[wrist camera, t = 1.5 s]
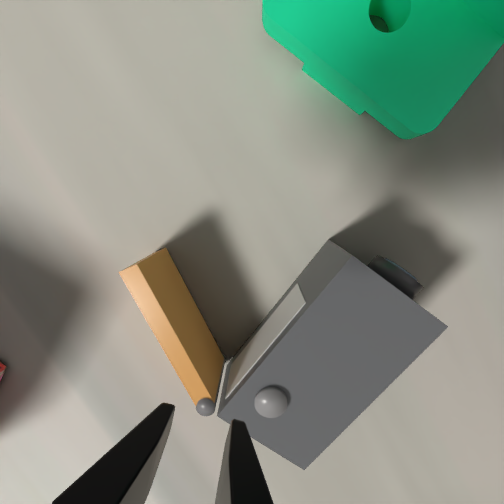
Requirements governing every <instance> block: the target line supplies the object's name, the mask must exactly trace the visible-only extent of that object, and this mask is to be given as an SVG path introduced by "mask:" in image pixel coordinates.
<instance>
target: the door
mask: <svg viewBox="0 0 504 504" xmlns="http://www.w3.org/2000/svg"><path fill="white" fill-rule="evenodd" d="M119 274H120V276H121V277H122V279H123V281H124V283H125V284H126V286H127V288H128V289H129V291H130V293H131V295H132V296H133V298H134V300H135V302H136V303H137V305H138V307H139V309H140V310H141V312H142V314H143V315H144V317H145V319H146V321H147V322H148V324H149V326H150V328H151V329H152V331H153V333H154V335H155V336H156V338H157V340H158V341H159V343H160V345H161V347H162V348H163V350H164V352H165V354H166V355H167V357H168V359H169V361H170V362H171V364H172V366H173V367H174V369H175V371H176V373H177V374H178V376H179V378H180V380H181V381H182V383H183V385H184V387H185V388H186V390H187V392H188V393H189V395H190V397H191V399H192V400H193V402H194V404H195V406H196V410H197V412H198V413H199V414H200V415H202V416H210V415H212V414H213V413H214V411H215V407H216V402H217V397H218V392H219V388H220V383H221V378H222V373H223V369H224V364H225V357H224V356H223V355H222V353H221V351H220V349H219V347H218V346H217V344H216V342H215V340H214V338H213V336H212V334H211V332H210V330H209V328H208V327H207V325H206V323H205V321H204V319H203V317H202V315H201V313H200V311H199V309H198V308H197V306H196V304H195V302H194V300H193V298H192V296H191V294H190V292H189V290H188V289H187V287H186V285H185V283H184V281H183V279H182V277H181V275H180V273H179V272H178V270H177V268H176V266H175V264H174V262H173V260H172V258H171V256H170V254H169V253H168V251H167V249H166V248H164V249H162V250H159V251H157V252H155V253H153V254H151V255H149V256H147V257H145V258H144V259H142V260H140V261H138V262H136V263H134V264H133V265H131V266H129V267H127V268H125V269H124V270H122V271H120V272H119Z"/></svg>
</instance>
